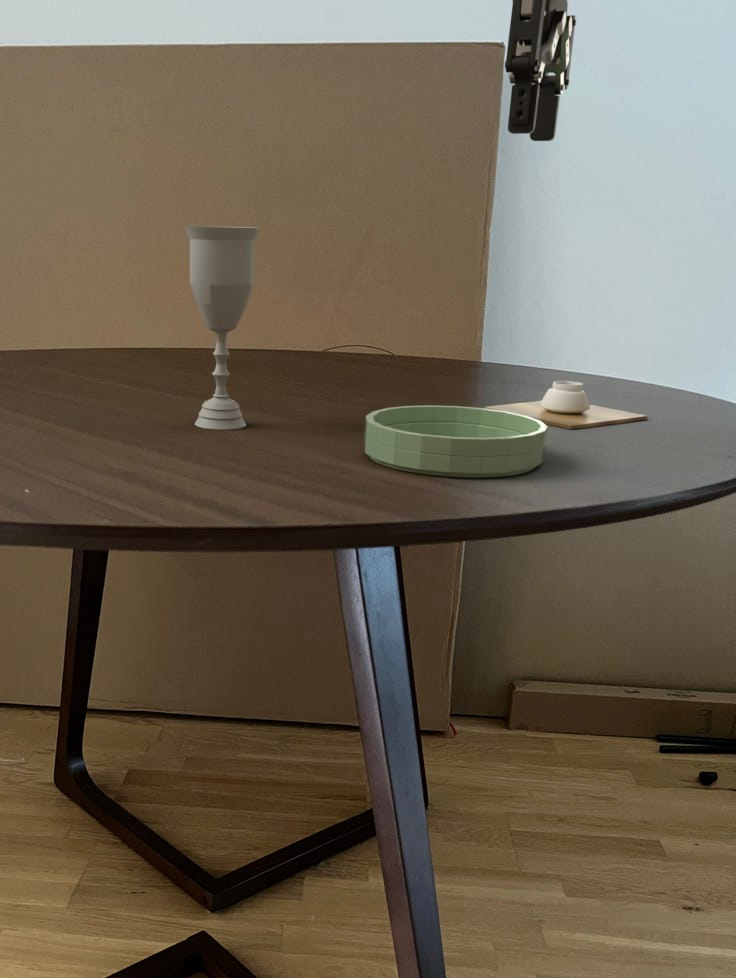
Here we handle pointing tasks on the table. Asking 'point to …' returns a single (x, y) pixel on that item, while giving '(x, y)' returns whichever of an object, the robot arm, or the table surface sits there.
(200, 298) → the chalice
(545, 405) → the white jar
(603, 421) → the mat
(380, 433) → the pan
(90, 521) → the table surface
